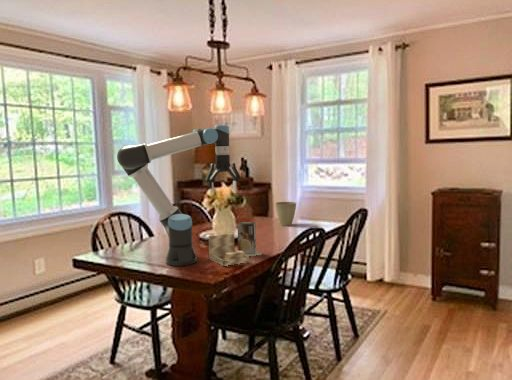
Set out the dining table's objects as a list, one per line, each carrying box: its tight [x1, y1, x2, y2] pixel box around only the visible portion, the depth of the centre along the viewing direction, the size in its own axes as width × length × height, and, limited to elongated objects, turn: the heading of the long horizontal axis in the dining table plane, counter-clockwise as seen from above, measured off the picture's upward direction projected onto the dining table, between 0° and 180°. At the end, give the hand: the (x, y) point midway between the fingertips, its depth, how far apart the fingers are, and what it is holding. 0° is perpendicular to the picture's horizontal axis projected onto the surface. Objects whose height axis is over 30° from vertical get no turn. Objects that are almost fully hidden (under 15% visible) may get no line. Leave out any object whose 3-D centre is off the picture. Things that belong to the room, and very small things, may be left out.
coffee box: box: [237, 221, 257, 254], centre depth 234 cm, size 9×6×16 cm
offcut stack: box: [221, 250, 245, 260], centre depth 216 cm, size 11×4×5 cm, turn 120°
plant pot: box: [275, 201, 297, 227], centre depth 314 cm, size 15×15×16 cm
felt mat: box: [245, 250, 262, 257], centre depth 235 cm, size 12×13×1 cm
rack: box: [208, 232, 250, 267], centre depth 221 cm, size 14×17×12 cm
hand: (223, 193), depth 238 cm, fingers open, 13 cm apart
